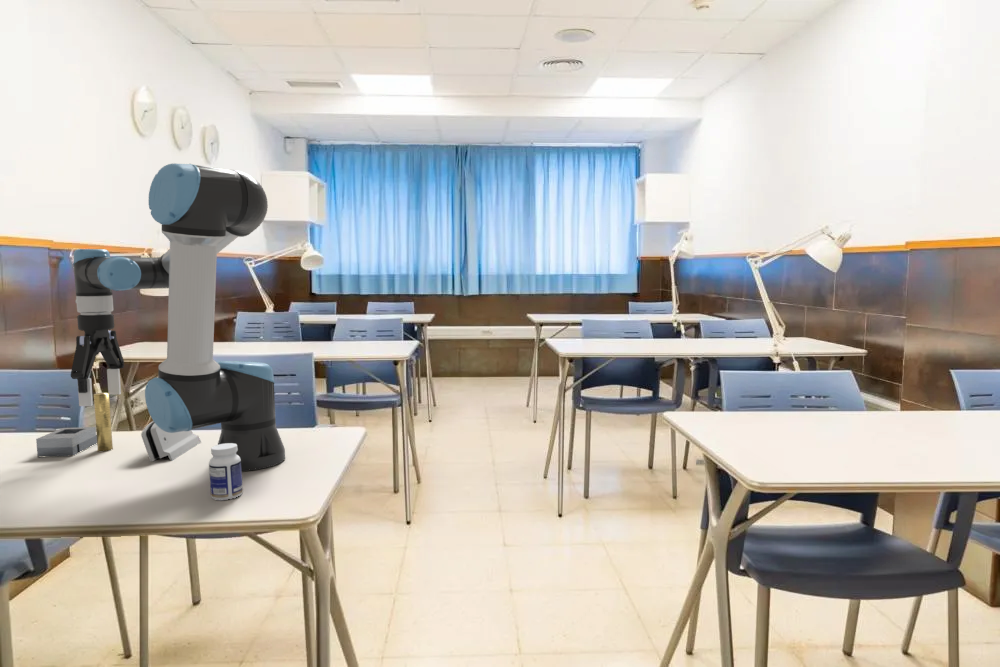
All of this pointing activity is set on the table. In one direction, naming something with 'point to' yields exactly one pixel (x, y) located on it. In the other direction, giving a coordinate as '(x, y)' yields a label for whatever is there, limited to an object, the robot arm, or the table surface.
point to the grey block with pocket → (66, 441)
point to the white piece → (167, 442)
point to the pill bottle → (225, 472)
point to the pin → (103, 421)
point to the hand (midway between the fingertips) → (101, 400)
